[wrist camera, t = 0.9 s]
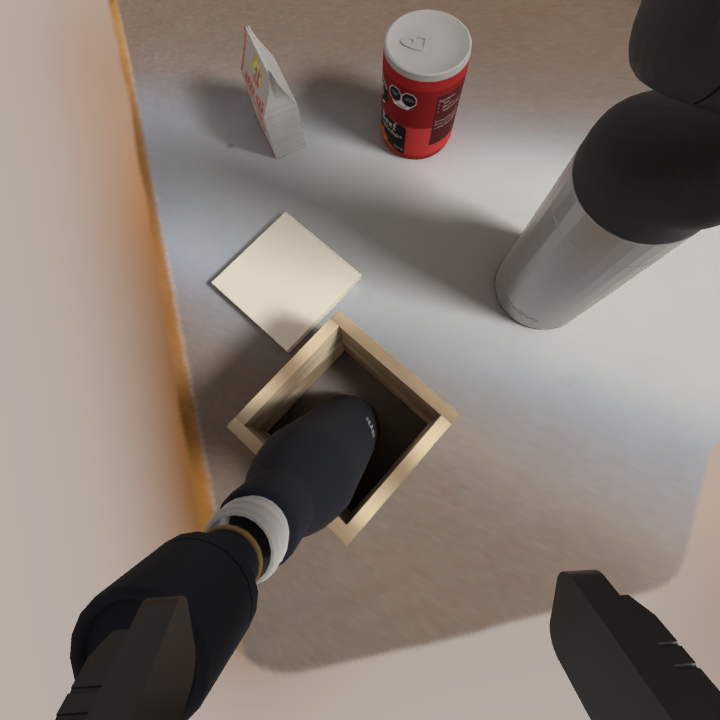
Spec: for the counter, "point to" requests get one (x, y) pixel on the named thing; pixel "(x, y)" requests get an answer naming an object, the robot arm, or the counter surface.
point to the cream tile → (287, 281)
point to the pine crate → (378, 363)
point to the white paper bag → (271, 98)
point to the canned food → (422, 81)
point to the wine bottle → (243, 538)
